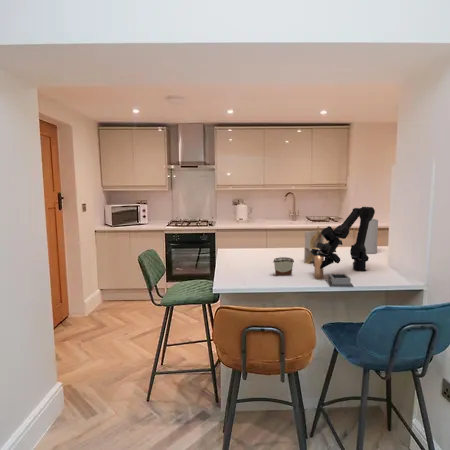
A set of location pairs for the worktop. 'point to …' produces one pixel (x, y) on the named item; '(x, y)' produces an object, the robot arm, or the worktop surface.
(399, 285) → the worktop surface
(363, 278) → the worktop surface
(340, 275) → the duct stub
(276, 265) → the food container
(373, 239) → the grey tall block
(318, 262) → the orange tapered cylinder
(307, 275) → the worktop surface
